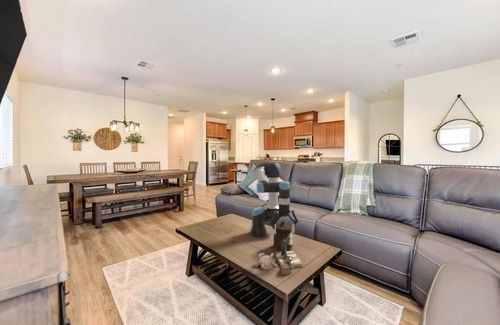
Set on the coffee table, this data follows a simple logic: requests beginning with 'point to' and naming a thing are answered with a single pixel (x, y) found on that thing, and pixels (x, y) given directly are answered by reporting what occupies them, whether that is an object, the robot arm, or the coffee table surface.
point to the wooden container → (283, 235)
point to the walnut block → (285, 268)
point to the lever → (283, 252)
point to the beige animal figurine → (266, 261)
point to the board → (291, 253)
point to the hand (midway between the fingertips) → (284, 232)
